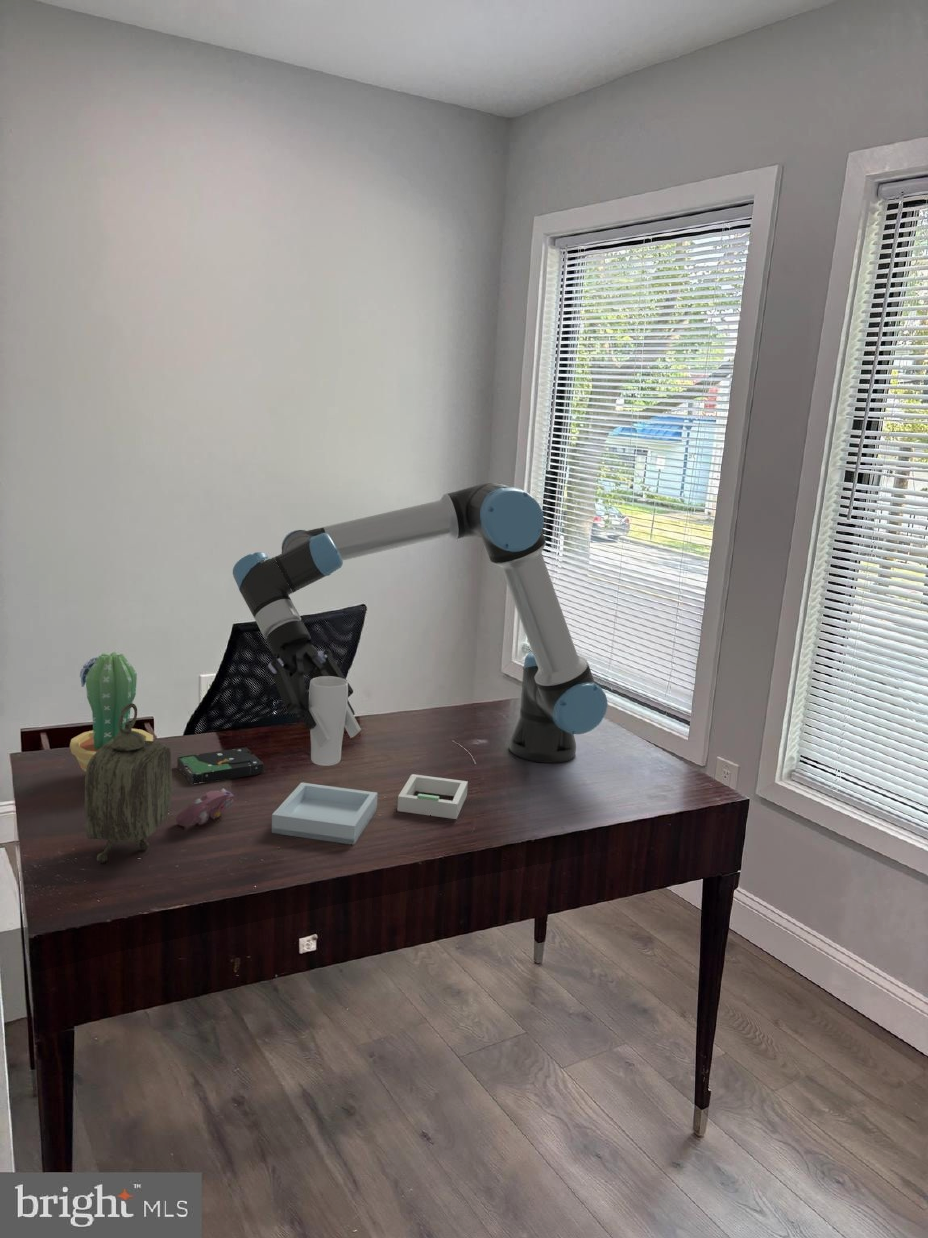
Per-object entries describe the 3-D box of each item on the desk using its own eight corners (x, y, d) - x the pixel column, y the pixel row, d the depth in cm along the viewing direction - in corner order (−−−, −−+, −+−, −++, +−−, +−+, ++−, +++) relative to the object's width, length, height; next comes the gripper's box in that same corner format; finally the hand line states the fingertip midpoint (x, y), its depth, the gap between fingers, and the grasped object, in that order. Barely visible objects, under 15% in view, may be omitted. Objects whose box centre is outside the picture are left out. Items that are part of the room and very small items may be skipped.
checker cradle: (466, 795, 184) (468, 778, 183) (456, 819, 173) (457, 801, 172) (411, 788, 186) (412, 771, 185) (397, 811, 175) (398, 793, 174)
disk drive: (245, 759, 197) (176, 769, 188) (246, 746, 196) (176, 756, 188) (264, 776, 188) (192, 787, 180) (265, 763, 188) (192, 774, 179)
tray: (376, 810, 174) (377, 792, 174) (353, 844, 160) (354, 826, 159) (300, 799, 177) (301, 782, 176) (271, 833, 162) (272, 814, 162)
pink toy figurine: (188, 839, 161) (201, 811, 158) (171, 822, 163) (184, 793, 160) (229, 820, 170) (242, 793, 167) (213, 804, 171) (226, 776, 168)
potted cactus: (143, 759, 191) (141, 642, 185) (164, 787, 178) (163, 662, 173) (62, 771, 182) (59, 649, 177) (79, 801, 170) (75, 670, 164)
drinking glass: (302, 756, 167) (305, 676, 164) (338, 753, 170) (341, 674, 167) (312, 770, 161) (315, 688, 158) (349, 766, 164) (353, 685, 161)
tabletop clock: (122, 828, 160) (120, 690, 155) (173, 832, 160) (173, 694, 155) (86, 868, 146) (82, 718, 141) (142, 872, 146) (141, 722, 141)
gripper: (314, 633, 179) (369, 736, 172) (230, 648, 164) (286, 761, 157) (334, 612, 174) (391, 716, 168) (249, 625, 159) (308, 740, 153)
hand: (340, 738), depth 162 cm, fingers closed on drinking glass, 7 cm apart
